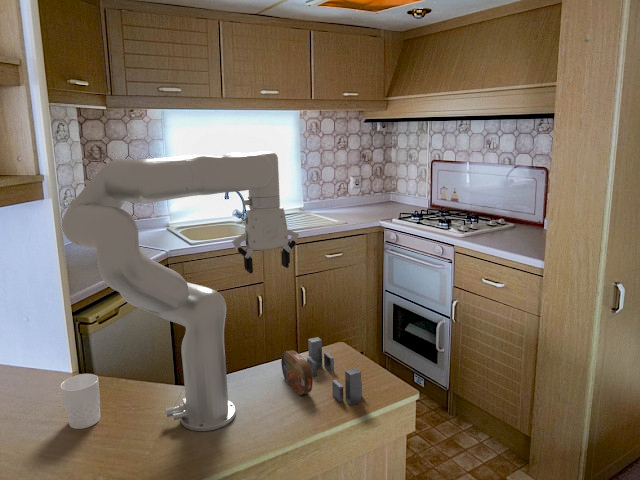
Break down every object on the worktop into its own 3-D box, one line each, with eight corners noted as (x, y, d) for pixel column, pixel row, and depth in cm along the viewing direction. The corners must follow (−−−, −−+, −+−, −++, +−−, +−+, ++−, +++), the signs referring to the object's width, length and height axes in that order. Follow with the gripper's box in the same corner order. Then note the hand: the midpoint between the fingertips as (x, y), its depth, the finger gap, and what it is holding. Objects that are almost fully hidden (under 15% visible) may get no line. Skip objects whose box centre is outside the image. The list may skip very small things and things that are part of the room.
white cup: (103, 408, 125) (98, 371, 122) (102, 426, 117) (97, 386, 115) (67, 416, 122) (62, 377, 120) (64, 434, 115) (58, 393, 112)
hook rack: (344, 407, 123) (344, 376, 121) (303, 367, 143) (302, 340, 142) (366, 400, 126) (366, 370, 124) (323, 362, 146) (323, 335, 144)
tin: (280, 375, 139) (279, 346, 137) (291, 372, 141) (290, 344, 139) (303, 401, 126) (302, 369, 124) (315, 398, 127) (314, 366, 125)
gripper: (235, 208, 120) (239, 278, 124) (302, 201, 127) (304, 268, 131) (226, 203, 126) (230, 270, 130) (290, 197, 134) (293, 261, 138)
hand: (267, 269), depth 131 cm, fingers open, 9 cm apart
